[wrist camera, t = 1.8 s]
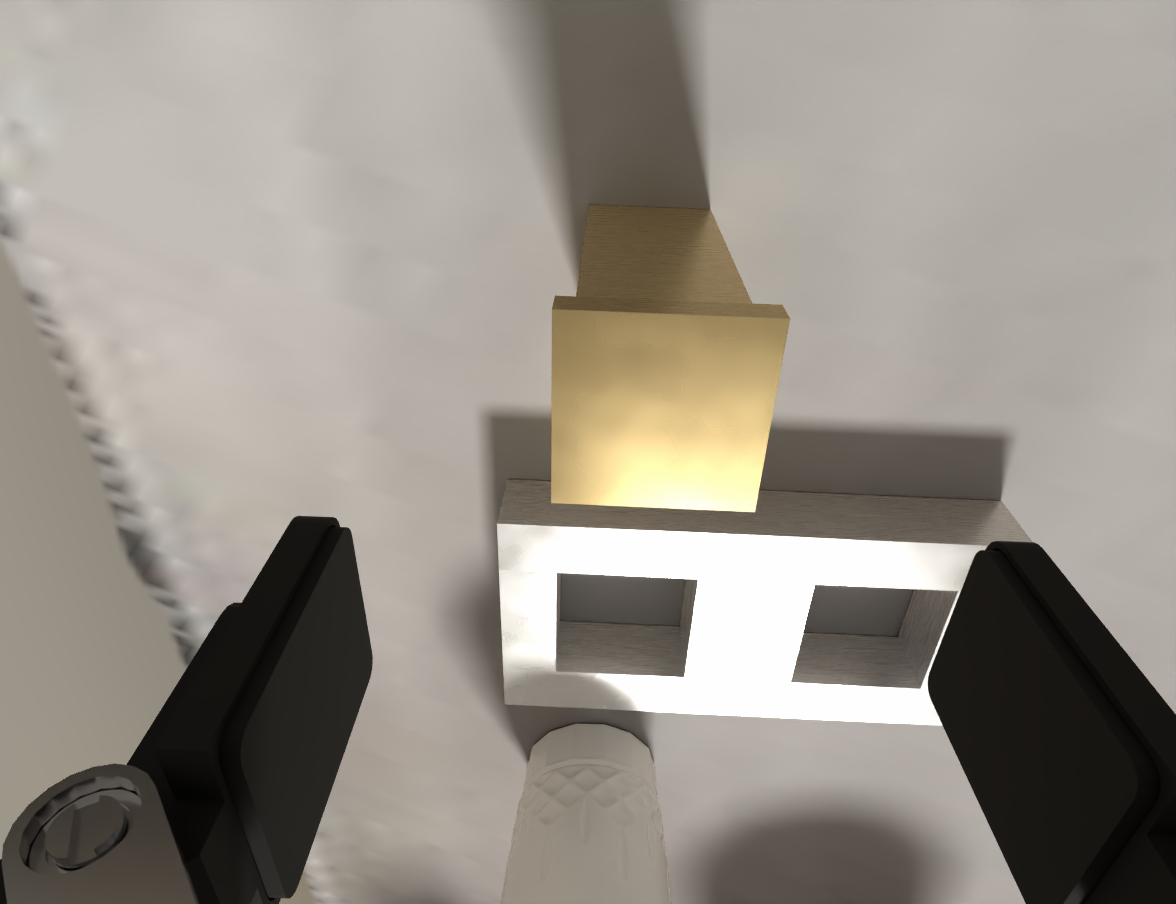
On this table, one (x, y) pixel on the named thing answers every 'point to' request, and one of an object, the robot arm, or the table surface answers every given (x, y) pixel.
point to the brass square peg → (661, 368)
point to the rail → (737, 602)
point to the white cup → (588, 823)
